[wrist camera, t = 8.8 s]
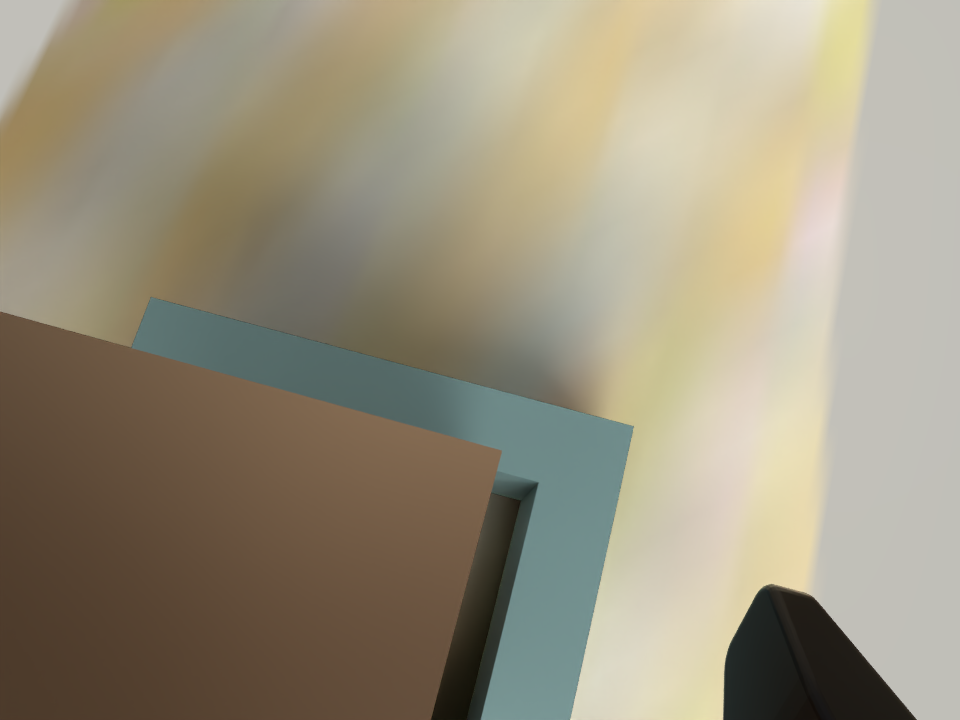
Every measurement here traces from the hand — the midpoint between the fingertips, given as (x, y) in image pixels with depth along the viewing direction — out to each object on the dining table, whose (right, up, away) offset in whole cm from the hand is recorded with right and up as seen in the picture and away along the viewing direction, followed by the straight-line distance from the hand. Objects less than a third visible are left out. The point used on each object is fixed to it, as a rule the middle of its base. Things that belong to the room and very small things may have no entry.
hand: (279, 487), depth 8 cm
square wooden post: (-1, -3, +7) cm, 8 cm away
